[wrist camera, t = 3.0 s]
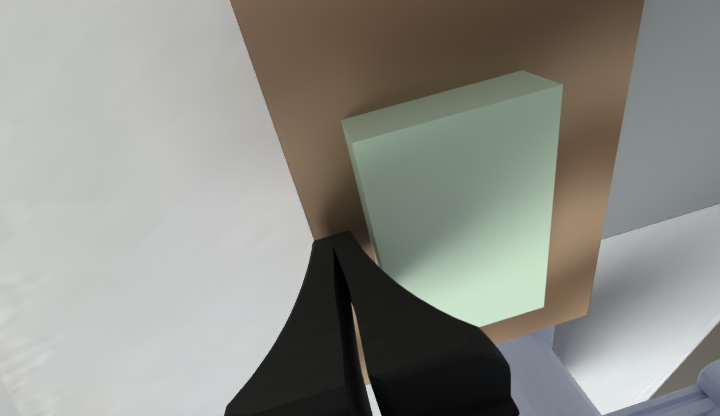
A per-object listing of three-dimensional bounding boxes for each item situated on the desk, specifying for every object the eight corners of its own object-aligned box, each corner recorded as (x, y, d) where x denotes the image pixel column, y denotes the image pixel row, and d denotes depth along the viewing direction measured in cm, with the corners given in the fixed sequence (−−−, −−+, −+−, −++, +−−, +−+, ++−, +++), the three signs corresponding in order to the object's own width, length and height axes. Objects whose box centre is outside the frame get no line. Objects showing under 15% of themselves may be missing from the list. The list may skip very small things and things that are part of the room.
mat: (729, 196, 23) (734, 199, 23) (546, 252, 22) (549, 255, 22) (865, -153, 14) (876, -155, 14) (573, -79, 14) (579, -80, 13)
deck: (540, 266, 23) (587, 315, 19) (351, 324, 22) (365, 385, 19) (568, -113, 13) (671, -146, 10) (233, -30, 12) (217, -35, 9)
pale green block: (516, 274, 17) (543, 306, 15) (388, 313, 16) (401, 351, 15) (522, 70, 12) (563, 84, 10) (340, 120, 12) (352, 142, 10)
